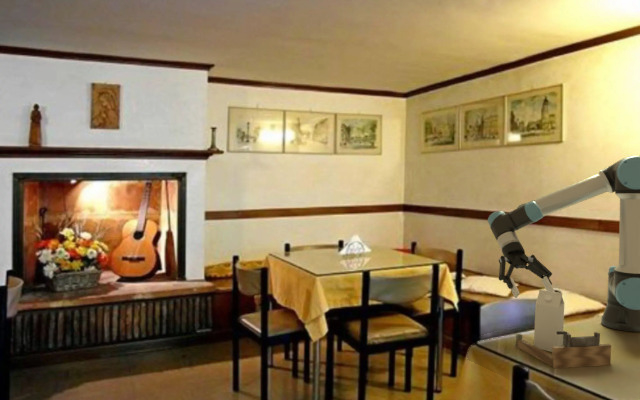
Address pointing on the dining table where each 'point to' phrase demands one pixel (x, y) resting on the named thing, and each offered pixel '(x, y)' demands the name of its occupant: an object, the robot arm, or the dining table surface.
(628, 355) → the dining table surface
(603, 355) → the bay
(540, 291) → the milk carton
